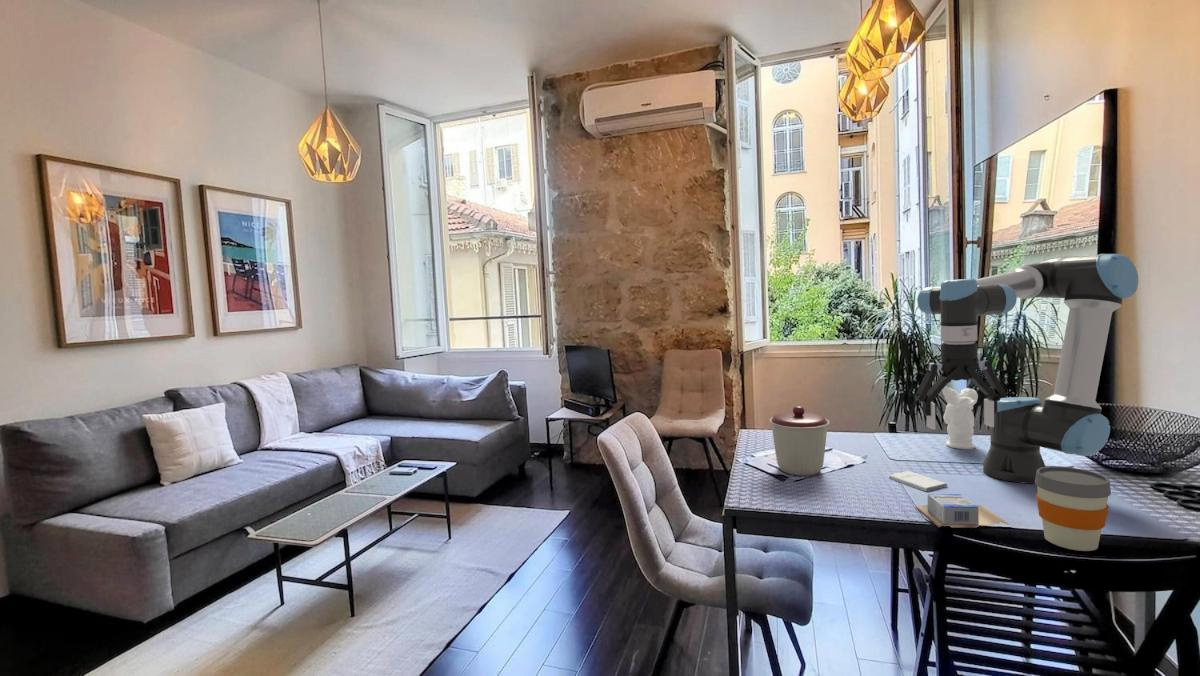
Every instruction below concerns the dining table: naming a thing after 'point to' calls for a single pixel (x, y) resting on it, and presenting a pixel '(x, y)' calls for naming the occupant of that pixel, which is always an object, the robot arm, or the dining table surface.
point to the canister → (799, 441)
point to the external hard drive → (917, 481)
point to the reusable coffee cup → (1072, 506)
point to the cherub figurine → (960, 417)
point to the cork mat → (984, 519)
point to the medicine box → (953, 509)
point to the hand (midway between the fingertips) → (959, 427)
